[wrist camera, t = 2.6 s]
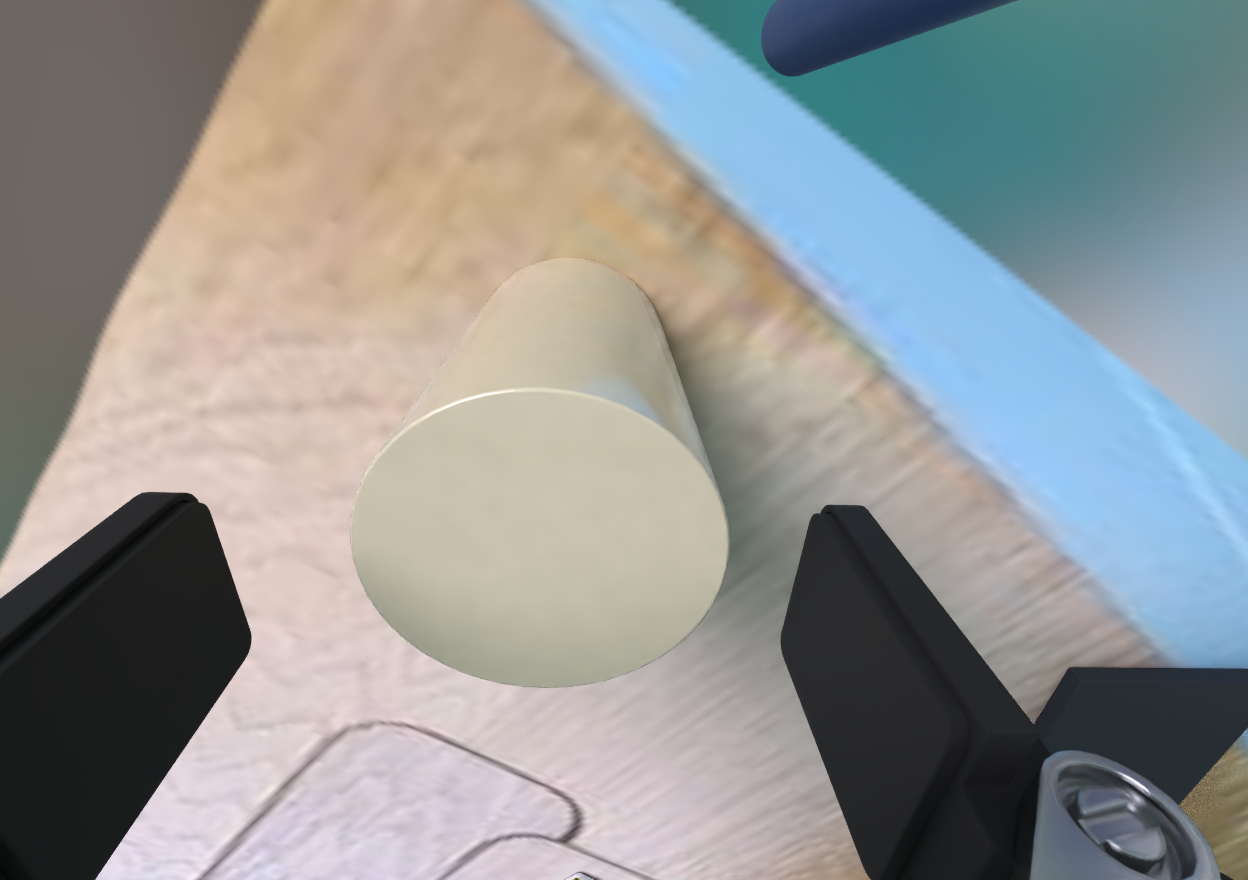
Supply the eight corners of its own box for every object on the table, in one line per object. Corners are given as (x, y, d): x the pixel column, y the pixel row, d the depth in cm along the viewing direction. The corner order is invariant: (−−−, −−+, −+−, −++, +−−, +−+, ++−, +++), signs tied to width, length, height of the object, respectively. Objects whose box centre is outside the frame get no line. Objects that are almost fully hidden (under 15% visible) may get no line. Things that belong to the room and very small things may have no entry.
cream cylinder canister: (468, 251, 16) (312, 379, 7) (674, 262, 17) (760, 396, 8) (484, 473, 20) (390, 740, 11) (653, 478, 20) (696, 741, 11)
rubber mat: (1069, 666, 26) (1082, 681, 25) (1270, 668, 26) (1289, 682, 26) (990, 794, 30) (999, 810, 30) (1163, 793, 31) (1176, 808, 30)
